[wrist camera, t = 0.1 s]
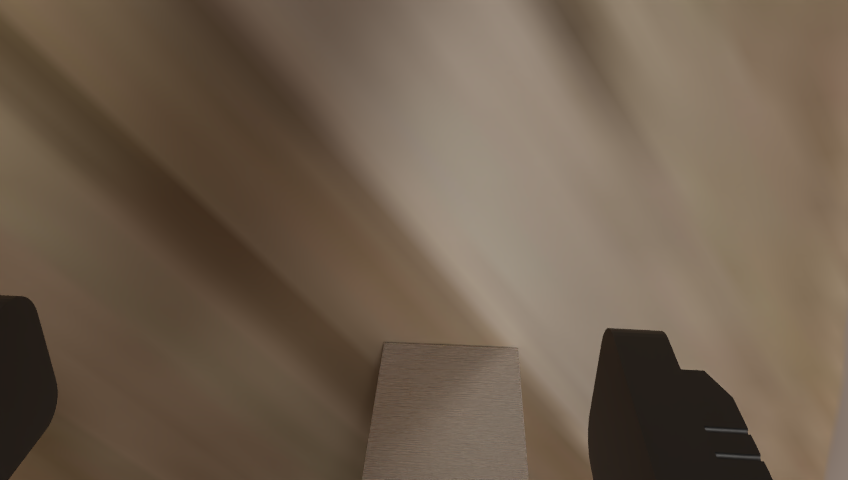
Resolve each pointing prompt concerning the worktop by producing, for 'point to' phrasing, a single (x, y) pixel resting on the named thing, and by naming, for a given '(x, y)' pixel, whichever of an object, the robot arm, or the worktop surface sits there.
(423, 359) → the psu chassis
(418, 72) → the worktop surface
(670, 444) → the robot arm
